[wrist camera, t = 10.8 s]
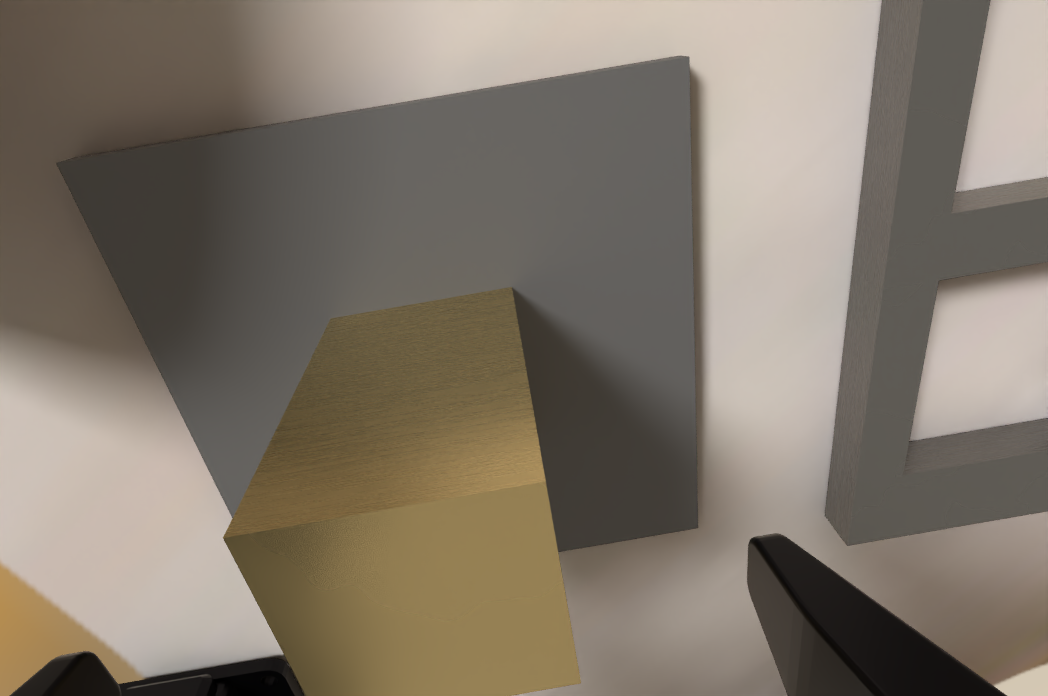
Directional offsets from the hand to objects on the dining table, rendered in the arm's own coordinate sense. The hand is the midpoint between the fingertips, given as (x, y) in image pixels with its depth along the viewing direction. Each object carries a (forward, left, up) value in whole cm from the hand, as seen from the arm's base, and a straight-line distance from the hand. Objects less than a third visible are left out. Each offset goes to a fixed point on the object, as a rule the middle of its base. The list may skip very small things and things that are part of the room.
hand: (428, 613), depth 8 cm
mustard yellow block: (0, 0, -7) cm, 7 cm away
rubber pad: (0, 0, -7) cm, 7 cm away
